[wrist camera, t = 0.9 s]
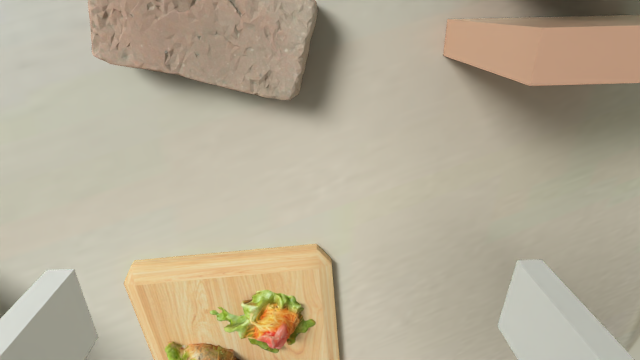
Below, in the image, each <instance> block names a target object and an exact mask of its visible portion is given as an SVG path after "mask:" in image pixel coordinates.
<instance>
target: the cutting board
mask: <svg viewBox="0 0 640 360" xmlns="http://www.w3.org/2000/svg"><path fill="white" fill-rule="evenodd" d="M124 285H125V288H126V290H127V293H128V295H129V298H130V300H131V303H132V305H133V308H134V310H135V313H136V316H137V318H138V321H139V323H140V326H141V328H142V331H143V333H144V336H145V338H146V341H147V343H148V346H149V348H150V351H151V354H152V356H153V359H154V360H340V359H339V347H338V335H337V323H336V311H335V299H334V287H333V275H332V263H331V258H330V257H329V256H328V255H327V254H326V253H325V252H324V251H323V250H322V249H321V248H320V247H319V246H318V245H317V244H310V245H299V246H288V247H277V248H266V249H255V250H244V251H233V252H222V253H211V254H200V255H189V256H178V257H167V258H156V259H145V260H135V261H134V262H133V264H132V265H131V267H130V270H129V272H128V274H127V277H126V279H125V281H124Z"/></svg>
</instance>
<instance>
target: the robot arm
mask: <svg viewBox="0 0 640 360" xmlns="http://www.w3.org/2000/svg"><path fill="white" fill-rule="evenodd" d="M498 328H499V329H500V331H501V333H502V334H503V336H504V338H505V339H506V341H507V343H508V344H509V346H510V348H511V349H512V351H513V353H514V354H515V356H516V358H517V359H518V360H634V358H633V357H632V356H631V355H630V354H629V353H628V352H627V351H626V350H625V349H624V348H623V347H622V346H621V344H620V343H619V342H618V341H617V340H616V339H615V338H614V337H613V336H612V335H611V334H610V333H609V332H608V330H607V329H606V328H605V327H604V326H603V325H602V324H601V323H600V322H599V321H598V320H597V319H596V318H595V316H594V315H593V314H592V313H591V312H590V311H589V310H588V309H587V308H586V307H585V306H584V305H583V304H582V302H581V301H580V300H579V299H578V298H577V297H576V296H575V295H574V294H573V293H572V292H571V291H570V290H569V288H568V287H567V286H566V285H565V284H564V283H563V282H562V281H561V280H560V279H559V278H558V277H557V276H556V274H555V273H554V272H553V271H552V270H551V269H550V268H549V267H548V266H547V265H546V264H545V263H544V262H543V260H517V263H516V266H515V269H514V273H513V276H512V279H511V282H510V286H509V289H508V292H507V296H506V299H505V302H504V306H503V309H502V312H501V316H500V319H499V322H498ZM97 339H98V335H97V332H96V330H95V327H94V324H93V321H92V318H91V315H90V313H89V310H88V307H87V304H86V301H85V298H84V296H83V293H82V290H81V287H80V284H79V282H78V279H77V276H76V273H75V270H74V269H61V270H46V271H45V272H44V273H43V274H42V275H41V276H40V277H39V279H38V280H37V281H36V282H35V283H34V284H33V285H32V286H31V287H30V288H29V289H28V290H27V291H26V292H25V293H24V294H23V295H22V296H21V297H20V299H19V300H18V301H17V302H16V303H15V304H14V305H13V306H12V307H11V308H10V309H9V310H8V311H7V312H6V313H5V314H4V315H3V316H2V317H1V318H0V360H85V358H86V357H87V355H88V353H89V352H90V350H91V348H92V347H93V345H94V344H95V342H96V340H97Z"/></svg>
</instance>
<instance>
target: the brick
mask: <svg viewBox="0 0 640 360" xmlns="http://www.w3.org/2000/svg"><path fill="white" fill-rule="evenodd" d="M88 8H89V17H90V27H91V42H92V53H93V56H95V57H97V58H99V59H101V60H104V61H106V62H108V63H110V64H114V65H120V66H126V67H133V68H142V69H147V70H152V71H159V72H165V73H171V74H176V75H180V76H183V77H186V78H189V79H193V80H197V81H200V82H204V83H208V84H213V85H217V86H221V87H224V88H228V89H232V90H236V91H242V92H245V93H249V94H255V95H259V96H261V97H266V98H276V99H280V100H290V99H292V98H293V97H295V96H297V95H298V94H299V91H300V88H301V84H302V76H303V73H304V71H305V63H306V60H307V57H308V53H309V46H310V40H311V37H312V34H313V31H314V28H315V23H316V18H317V13H318V8H317V4H316V1H315V0H88Z"/></svg>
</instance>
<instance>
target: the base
mask: <svg viewBox="0 0 640 360" xmlns="http://www.w3.org/2000/svg"><path fill="white" fill-rule="evenodd" d="M443 56H446V57H449V58H452V59H454V60H457V61H460V62H463V63H466V64H469V65H472V66H474V67H477V68H480V69H483V70H486V71H489V72H492V73H494V74H497V75H500V76H503V77H506V78H509V79H512V80H514V81H517V82H520V83H523V84H526V85H529V86H545V85H581V84H616V83H640V15H613V16H568V17H524V18H480V19H448V20H447V28H446V37H445V45H444V54H443Z"/></svg>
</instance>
